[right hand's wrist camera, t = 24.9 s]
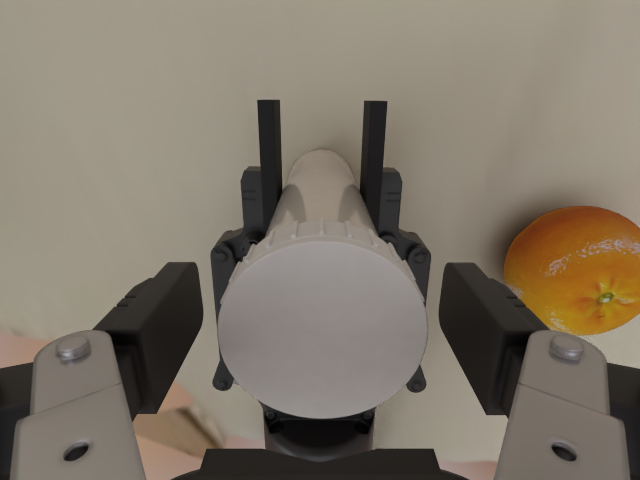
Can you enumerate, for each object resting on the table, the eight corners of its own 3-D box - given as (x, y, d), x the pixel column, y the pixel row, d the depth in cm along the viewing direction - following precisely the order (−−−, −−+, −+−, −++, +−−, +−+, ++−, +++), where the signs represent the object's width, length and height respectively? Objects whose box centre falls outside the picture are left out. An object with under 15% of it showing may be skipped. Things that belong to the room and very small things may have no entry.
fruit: (486, 336, 26) (617, 365, 19) (474, 216, 26) (601, 201, 19) (557, 315, 30) (689, 333, 23) (547, 210, 30) (675, 196, 23)
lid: (438, 348, 11) (456, 386, 10) (276, 400, 12) (270, 443, 10) (381, 186, 9) (392, 202, 8) (193, 259, 10) (172, 287, 9)
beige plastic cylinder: (306, 137, 25) (280, 213, 9) (363, 167, 26) (439, 288, 9) (279, 195, 26) (214, 352, 10) (334, 221, 27) (356, 407, 11)
